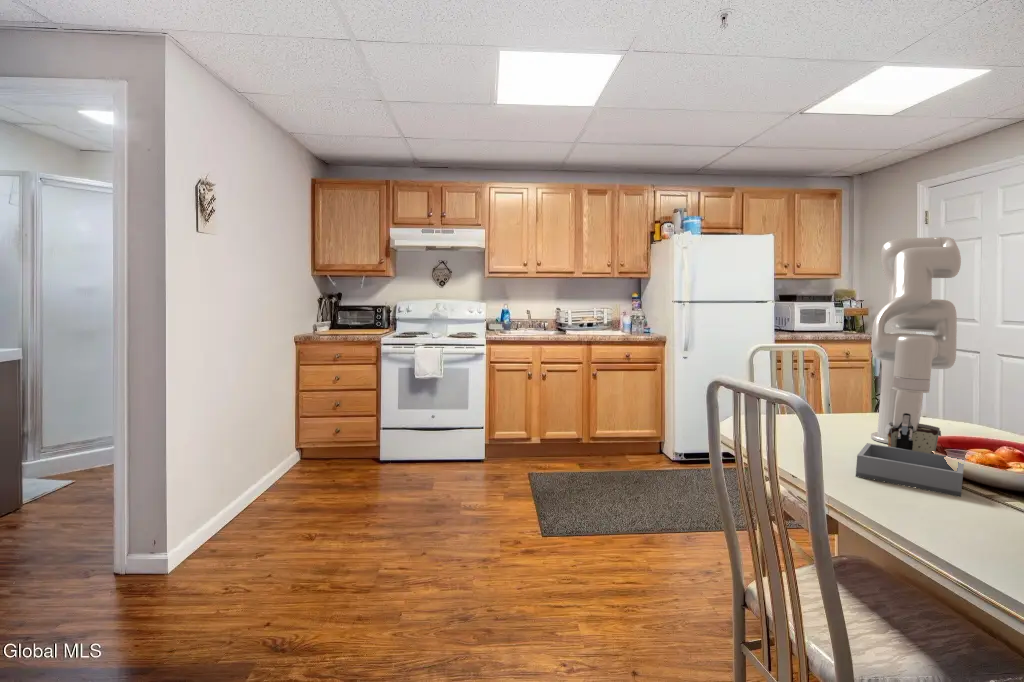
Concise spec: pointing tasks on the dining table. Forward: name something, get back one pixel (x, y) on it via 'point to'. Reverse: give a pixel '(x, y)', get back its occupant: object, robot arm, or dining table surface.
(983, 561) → the dining table surface
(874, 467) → the bin
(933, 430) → the food container
